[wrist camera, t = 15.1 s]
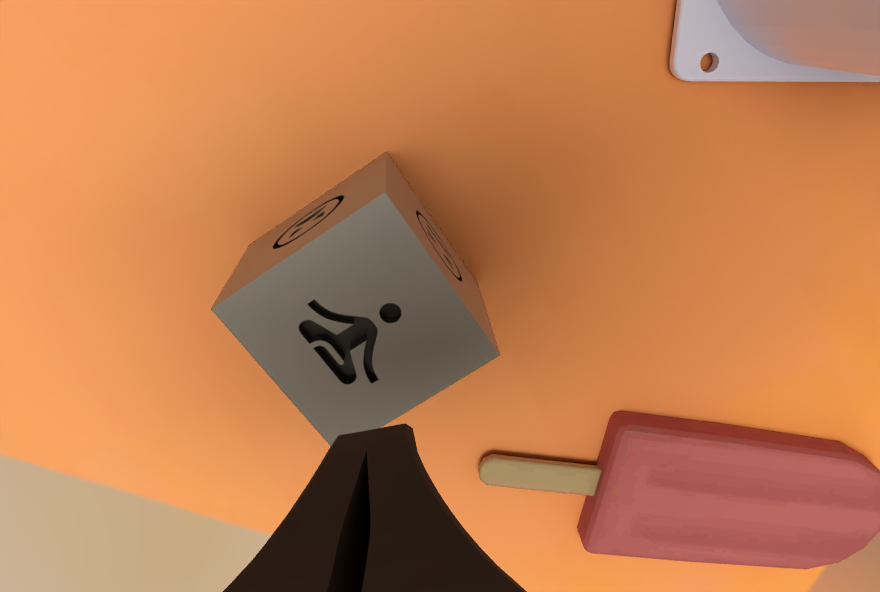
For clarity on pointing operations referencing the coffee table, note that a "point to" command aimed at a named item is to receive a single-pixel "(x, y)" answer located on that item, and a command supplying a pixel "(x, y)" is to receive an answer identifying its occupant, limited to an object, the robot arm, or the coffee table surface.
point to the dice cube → (358, 305)
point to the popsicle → (711, 493)
